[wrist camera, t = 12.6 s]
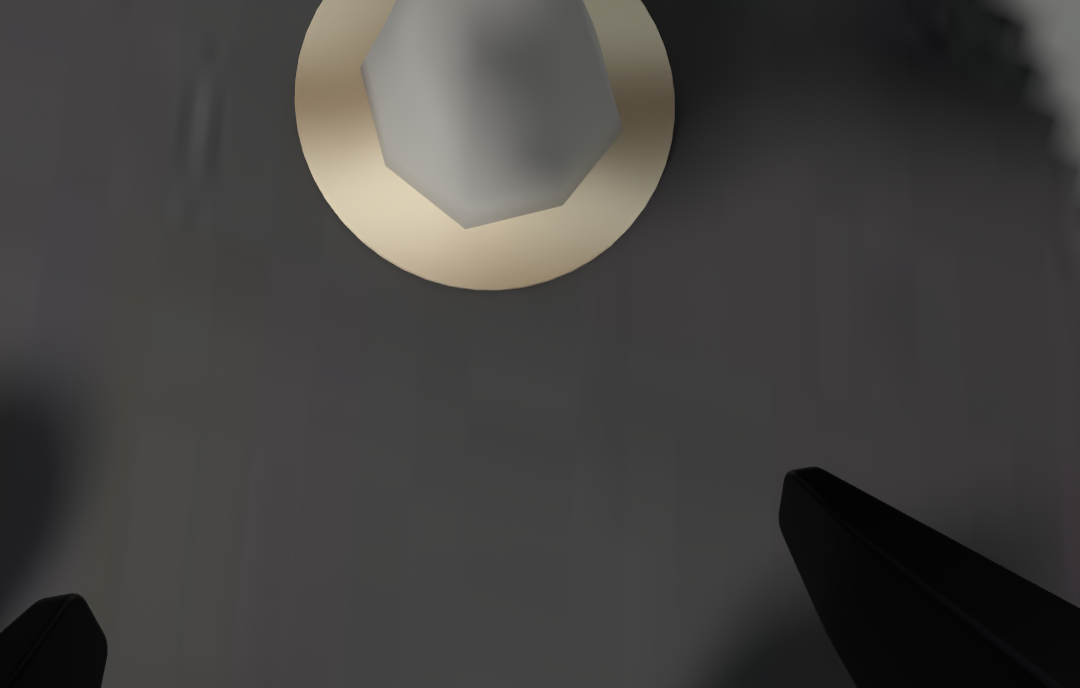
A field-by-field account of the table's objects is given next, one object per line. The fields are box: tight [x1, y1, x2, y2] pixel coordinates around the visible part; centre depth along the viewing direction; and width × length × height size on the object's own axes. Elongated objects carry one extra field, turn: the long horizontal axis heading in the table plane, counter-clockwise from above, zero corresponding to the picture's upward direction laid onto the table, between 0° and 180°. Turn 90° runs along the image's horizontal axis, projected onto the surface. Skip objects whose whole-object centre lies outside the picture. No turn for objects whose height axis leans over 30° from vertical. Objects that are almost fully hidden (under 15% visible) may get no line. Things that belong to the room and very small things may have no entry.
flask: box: [360, 0, 623, 229], centre depth 15 cm, size 7×7×10 cm
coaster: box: [295, 0, 675, 291], centre depth 21 cm, size 11×11×1 cm
